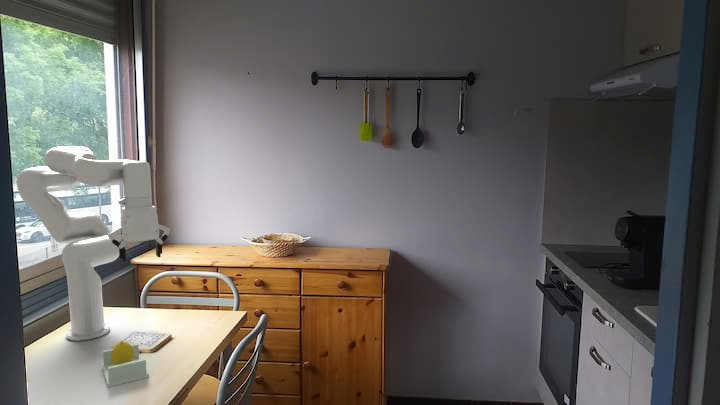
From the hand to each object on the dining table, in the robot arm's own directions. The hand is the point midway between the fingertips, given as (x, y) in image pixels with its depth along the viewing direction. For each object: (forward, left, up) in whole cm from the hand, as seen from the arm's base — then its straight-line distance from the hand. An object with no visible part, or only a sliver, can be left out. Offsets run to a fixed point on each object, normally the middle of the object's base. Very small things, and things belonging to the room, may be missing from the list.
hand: (141, 258), depth 144 cm
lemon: (+14, -8, -28) cm, 32 cm away
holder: (+14, -8, -28) cm, 33 cm away
